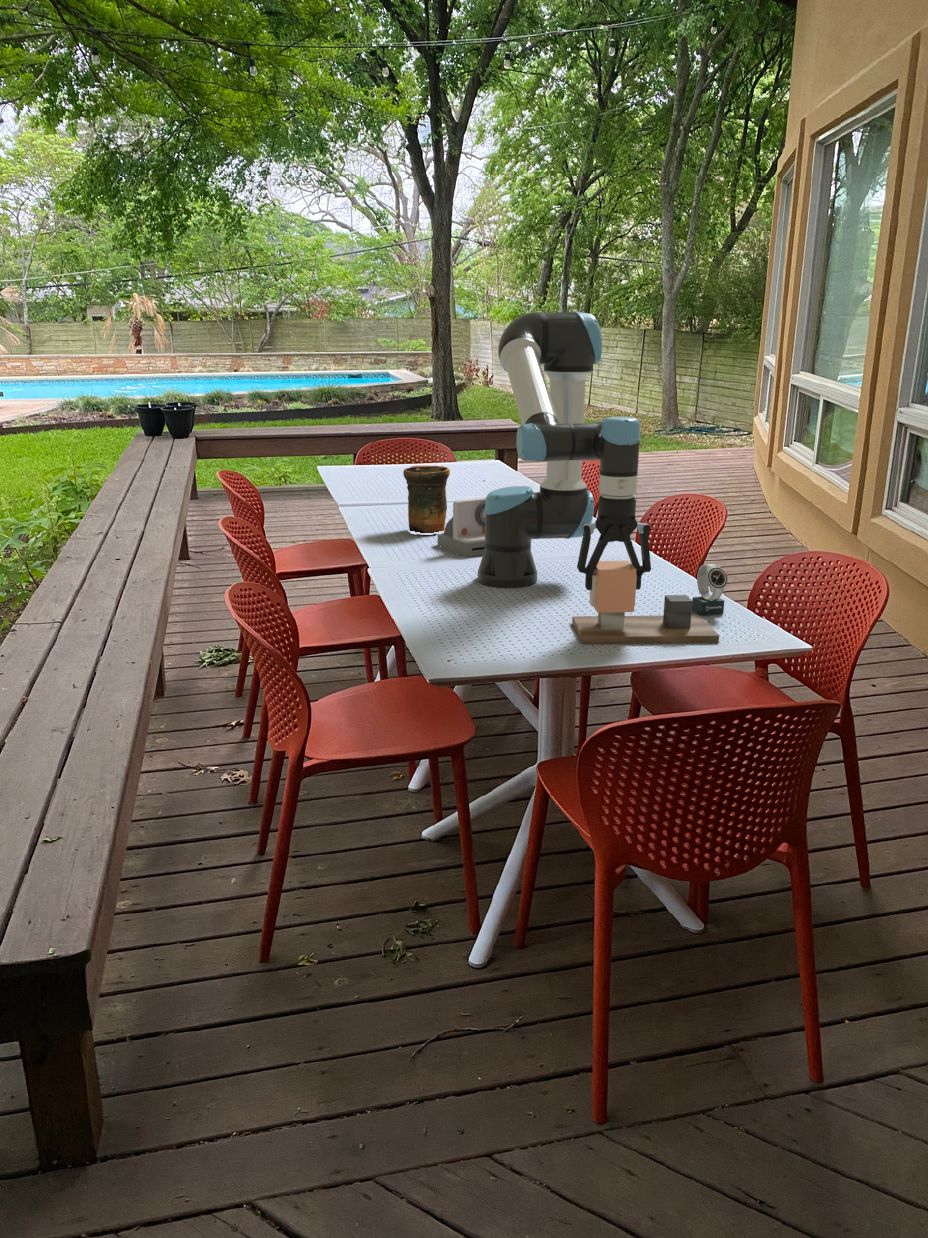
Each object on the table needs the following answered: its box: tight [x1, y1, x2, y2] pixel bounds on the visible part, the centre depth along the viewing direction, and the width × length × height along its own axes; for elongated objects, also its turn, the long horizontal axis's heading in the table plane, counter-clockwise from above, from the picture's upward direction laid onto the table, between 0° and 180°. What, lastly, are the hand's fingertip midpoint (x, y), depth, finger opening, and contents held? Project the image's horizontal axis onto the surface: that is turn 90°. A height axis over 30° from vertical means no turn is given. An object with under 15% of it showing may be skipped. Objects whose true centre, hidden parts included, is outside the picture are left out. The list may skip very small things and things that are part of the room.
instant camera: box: [437, 496, 487, 558], centre depth 268 cm, size 21×21×15 cm
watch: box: [691, 563, 729, 617], centre depth 208 cm, size 6×8×11 cm
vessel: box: [402, 464, 451, 533], centre depth 288 cm, size 14×14×20 cm
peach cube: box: [593, 560, 636, 614], centre depth 192 cm, size 8×8×9 cm
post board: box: [571, 594, 720, 645], centre depth 194 cm, size 14×28×8 cm, turn 93°
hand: (612, 604), depth 193 cm, fingers closed on peach cube, 8 cm apart
